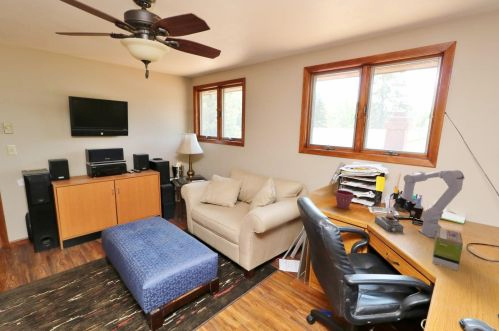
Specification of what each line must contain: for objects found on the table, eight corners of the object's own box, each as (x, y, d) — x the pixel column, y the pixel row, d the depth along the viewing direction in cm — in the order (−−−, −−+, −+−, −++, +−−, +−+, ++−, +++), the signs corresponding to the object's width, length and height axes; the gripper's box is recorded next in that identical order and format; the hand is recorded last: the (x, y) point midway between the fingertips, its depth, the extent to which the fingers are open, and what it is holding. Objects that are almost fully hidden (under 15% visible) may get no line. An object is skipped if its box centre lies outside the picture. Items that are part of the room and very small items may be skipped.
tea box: (432, 251, 128) (437, 226, 126) (456, 258, 122) (462, 232, 119) (431, 263, 117) (436, 236, 114) (458, 271, 110) (464, 243, 108)
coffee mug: (424, 221, 170) (426, 208, 168) (412, 221, 170) (414, 208, 168) (413, 215, 181) (415, 203, 179) (402, 214, 181) (404, 202, 179)
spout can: (394, 221, 158) (395, 211, 156) (389, 221, 157) (391, 211, 155) (389, 218, 162) (390, 209, 160) (384, 219, 160) (386, 209, 159)
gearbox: (404, 233, 149) (406, 225, 148) (389, 232, 149) (390, 224, 148) (388, 221, 167) (389, 214, 166) (374, 221, 167) (375, 214, 166)
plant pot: (353, 206, 196) (355, 192, 194) (350, 211, 185) (352, 196, 182) (336, 203, 204) (337, 189, 202) (332, 207, 192) (333, 192, 190)
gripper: (421, 194, 154) (418, 213, 157) (407, 188, 168) (404, 206, 171) (411, 194, 154) (407, 213, 157) (397, 188, 168) (394, 206, 171)
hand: (405, 209), depth 164 cm, fingers open, 7 cm apart
